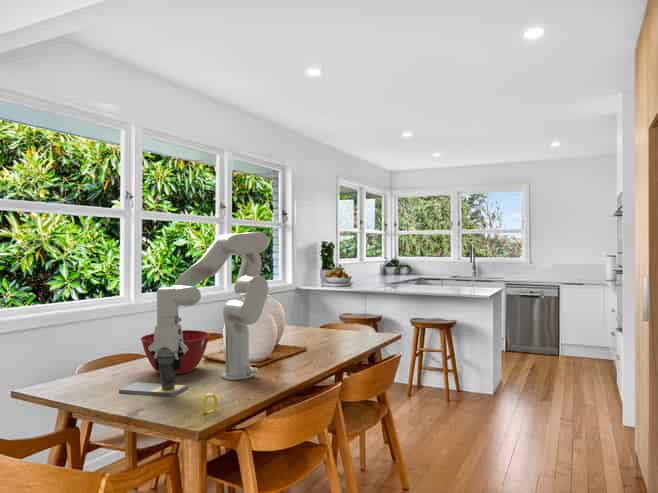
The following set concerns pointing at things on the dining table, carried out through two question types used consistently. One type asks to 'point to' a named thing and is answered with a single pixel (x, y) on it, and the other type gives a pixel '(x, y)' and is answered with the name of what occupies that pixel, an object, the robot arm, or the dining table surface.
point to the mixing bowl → (192, 357)
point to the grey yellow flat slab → (152, 389)
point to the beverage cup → (166, 367)
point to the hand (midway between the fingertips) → (168, 368)
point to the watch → (205, 402)
